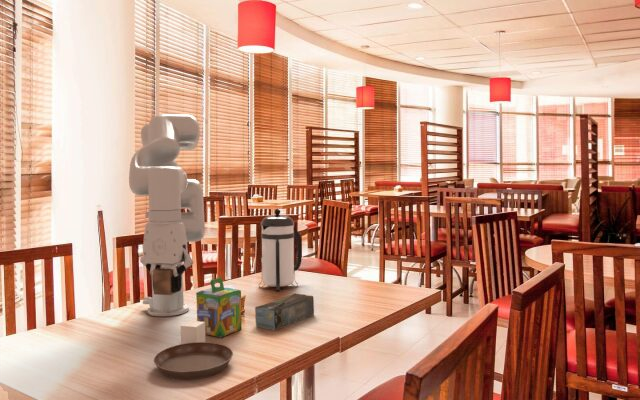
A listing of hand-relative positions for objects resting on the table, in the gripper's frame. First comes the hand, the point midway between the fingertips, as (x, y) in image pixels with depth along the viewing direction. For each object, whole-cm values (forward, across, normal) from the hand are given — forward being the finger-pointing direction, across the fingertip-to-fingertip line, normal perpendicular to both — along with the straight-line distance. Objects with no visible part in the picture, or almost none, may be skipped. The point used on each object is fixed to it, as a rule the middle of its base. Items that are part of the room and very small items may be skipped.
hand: (167, 290), depth 127 cm
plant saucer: (+16, +11, -6) cm, 21 cm away
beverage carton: (+16, +19, +33) cm, 41 cm away
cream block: (+16, +4, +6) cm, 17 cm away
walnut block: (+1, 0, 0) cm, 1 cm away
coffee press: (+15, +1, +74) cm, 75 cm away
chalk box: (+16, +4, +19) cm, 25 cm away
